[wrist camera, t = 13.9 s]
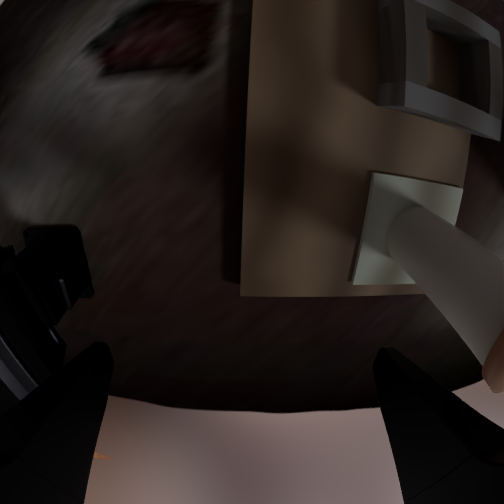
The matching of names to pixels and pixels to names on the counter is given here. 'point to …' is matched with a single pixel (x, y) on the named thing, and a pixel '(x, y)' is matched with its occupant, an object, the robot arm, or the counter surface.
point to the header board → (357, 136)
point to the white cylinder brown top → (455, 282)
